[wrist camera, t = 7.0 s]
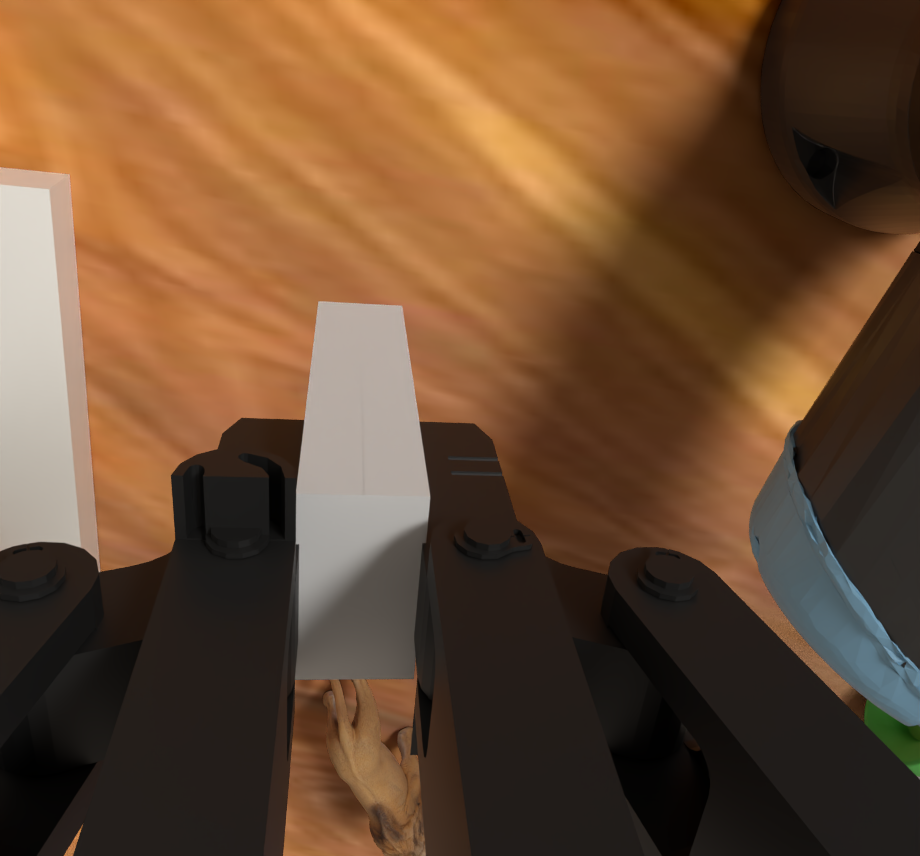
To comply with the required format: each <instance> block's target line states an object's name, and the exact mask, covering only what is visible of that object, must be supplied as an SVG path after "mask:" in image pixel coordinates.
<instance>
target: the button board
mask: <svg viewBox="0 0 920 856" xmlns="http://www.w3.org/2000/svg"><path fill="white" fill-rule="evenodd" d="M35 542H59V543H67V544H70V545H74V546H77V547H80V548H83V549H85V550H86V551H87V552H89V553H90V554H91V555H92V556H93V557H94V558H95V559H96V560H97V565H98V570H99V572H100V561H99V548H98V535H97V522H96V509H95V496H94V483H93V470H92V458H91V445H90V432H89V419H88V406H87V393H86V380H85V367H84V354H83V341H82V328H81V315H80V302H79V289H78V276H77V263H76V250H75V238H74V225H73V212H72V199H71V186H70V174H61V173H51V172H41V171H31V170H21V169H11V168H1V167H0V551H2V550H4V549H7V548H10V547H12V546H17V545H22V544H29V543H35Z"/></svg>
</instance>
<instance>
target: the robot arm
mask: <svg viewBox="0 0 920 856" xmlns="http://www.w3.org/2000/svg"><path fill="white" fill-rule="evenodd" d="M761 111H762V120H763V126H764V131H765V135H766V139H767V142H768V145H769V148H770V151H771V153H772V156H773V158H774V160H775V162H776V164H777V166H778V168H779V170H780V171H781V173H782V174H783V176H784V177H785V179H786V180H787V182H788V183H789V184H790V185H791V187H792V188H793V189H794V190H795V191H796V192H797V193H798V194H799V195H800V196H801V197H802V198H803V199H805V200H806V201H807V202H808V203H810V204H811V205H813V206H814V207H816V208H817V209H819V210H821V211H823V212H824V213H827V214H829V215H831V216H833V217H835V218H837V219H840V220H842V221H844V222H846V223H848V224H851V225H853V226H856V227H859V228H862V229H866V230H870V231H875V232H881V233H889V234H916V233H920V0H782V2H781V4H780V6H779V8H778V11H777V13H776V16H775V19H774V21H773V24H772V27H771V31H770V34H769V37H768V41H767V45H766V50H765V54H764V60H763V66H762V75H761ZM914 251H915V252H914ZM914 251H912V253H911V254H910V256H909V257H908V259H907V260H906V262H905V263H904V265H903V267H902V268H901V270H900V271H899V273H898V274H897V276H896V277H895V279H894V280H893V282H892V283H891V285H890V287H889V288H888V290H887V291H886V293H885V294H884V296H883V297H882V299H881V300H880V302H879V303H878V305H877V307H876V308H875V310H874V311H873V313H872V314H871V316H870V317H869V319H868V320H867V322H866V323H865V325H864V327H863V328H862V330H861V331H860V333H859V334H858V336H857V337H856V339H855V340H854V342H853V344H852V345H851V347H850V348H849V350H848V351H847V353H846V354H845V356H844V357H843V359H842V360H841V362H840V364H839V365H838V367H837V368H836V370H835V371H834V373H833V374H832V376H831V377H830V379H829V380H828V382H827V384H826V385H825V387H824V388H823V390H822V391H821V393H820V394H819V396H818V397H817V399H816V401H815V402H814V404H813V405H812V407H811V408H810V410H809V411H808V413H807V414H806V416H805V417H804V419H803V420H799V421H797V422H796V423H795V424H794V425H793V426H792V428H791V429H790V431H789V432H788V434H787V437H786V439H785V445H784V451H783V452H782V454H781V456H780V458H779V459H778V461H777V463H776V465H775V466H774V468H773V470H772V472H771V473H770V475H769V477H768V479H767V481H766V482H765V484H764V486H763V488H762V489H761V491H760V493H759V495H758V496H757V498H756V500H755V502H754V505H753V508H752V511H751V515H750V521H749V537H750V542H751V546H752V552H753V554H754V557H755V559H756V561H757V562H758V568H759V572H760V574H761V577H762V579H763V581H764V583H765V585H766V587H767V589H768V590H769V592H770V593H771V595H772V597H773V598H774V600H775V602H776V603H777V605H778V606H779V608H780V609H781V611H782V612H783V613H784V615H785V616H786V617H787V619H788V620H789V621H790V623H791V624H792V625H793V627H794V628H795V629H796V630H797V631H798V633H799V634H800V635H801V636H802V637H803V639H804V640H805V641H806V642H807V643H808V644H809V645H810V646H811V647H812V649H813V650H814V651H815V652H816V653H817V654H818V655H819V656H820V657H821V658H822V659H823V660H824V661H825V662H826V663H827V664H828V665H829V666H830V667H831V668H832V669H833V670H834V671H835V672H836V673H837V674H838V675H840V676H841V677H842V678H843V679H844V680H845V681H846V682H847V683H848V684H850V685H851V686H852V687H853V688H854V689H855V690H856V691H858V692H859V693H860V694H861V695H862V696H864V697H865V698H866V699H868V700H869V701H870V702H871V703H873V704H874V705H875V706H877V707H878V708H880V709H881V710H882V711H884V712H885V713H887V714H888V715H890V716H891V717H893V718H894V719H896V720H898V721H899V722H901V723H902V724H904V725H906V726H915V725H918V726H919V727H920V242H919V243H918V245H917V246H916V248H915V249H914ZM171 482H172V496H173V511H174V525H175V542H174V545H173V548H172V551H171V552H170V553H168V554H167V555H164V556H162V557H160V558H157V559H155V560H152V561H150V562H146V563H142V564H138V565H134V566H130V567H125V568H119V569H114V570H108V571H103V572H99V570H98V565H97V560H96V559H95V558H94V557H93V556H92V555H91V554H90V553H89V552H87V551H86V550H85V549H83V548H80V547H77V546H74V545H70V544H67V543H59V542H35V543H29V544H22V545H17V546H12V547H10V548H7V549H4V550H2V551H0V856H64V854H65V852H66V851H67V849H68V847H69V846H70V844H71V843H72V841H73V839H74V838H75V836H76V834H77V833H78V831H79V830H80V828H81V826H82V825H83V827H82V830H81V833H80V836H79V839H78V842H77V845H76V848H75V851H74V854H73V856H283V848H284V836H285V824H286V811H287V799H288V786H289V774H290V762H291V749H292V737H293V724H294V712H295V680H333V679H414V670H415V659H416V666H417V688H416V698H415V709H414V720H413V730H412V741H411V752H410V755H418V762H419V775H420V787H421V800H422V813H423V826H424V838H425V851H426V856H920V779H919V778H918V777H917V776H916V775H915V774H914V773H913V772H912V771H911V770H910V769H909V768H908V767H907V766H906V765H905V764H904V763H903V762H902V761H901V760H900V759H899V758H898V757H897V756H896V755H895V754H894V753H893V752H892V751H891V750H890V749H889V748H888V747H887V746H886V745H885V744H884V743H883V742H882V741H881V740H880V739H879V738H878V737H877V736H876V735H875V734H874V733H873V732H872V731H871V730H870V729H869V728H868V727H867V726H866V725H865V724H864V722H863V721H862V720H861V719H860V718H859V717H858V716H857V715H856V714H855V713H854V712H853V711H852V710H851V709H850V708H849V707H848V706H847V705H846V704H845V703H844V702H843V701H842V700H841V699H840V698H839V697H838V696H837V695H836V694H835V693H834V692H833V691H832V690H831V689H830V688H829V687H828V686H827V685H826V684H825V683H824V682H823V681H822V680H821V679H820V678H819V677H818V676H817V675H816V674H815V673H814V672H813V671H812V670H811V669H810V668H809V667H808V666H807V665H806V664H805V663H804V662H803V661H802V660H801V659H800V658H799V657H798V656H797V655H796V654H795V653H794V652H793V651H792V650H791V649H790V648H789V647H788V646H787V645H786V644H785V643H784V642H783V641H782V640H781V639H780V638H779V637H778V636H777V635H776V634H775V633H774V632H773V631H772V630H771V629H770V628H769V627H768V626H767V625H766V624H765V623H764V622H763V621H762V620H761V619H760V618H759V617H758V616H757V615H756V614H755V613H754V612H753V611H752V610H751V609H750V608H749V607H748V606H747V605H746V603H745V602H744V601H743V600H742V599H741V598H740V597H739V596H738V595H737V594H736V593H735V592H734V591H733V590H732V589H731V588H730V587H729V586H728V585H727V584H726V583H725V582H724V581H723V580H722V579H721V578H720V577H719V576H718V575H717V574H716V573H715V572H713V571H712V570H711V569H709V568H708V567H707V566H705V565H704V564H703V563H701V562H700V561H698V560H696V559H694V558H691V557H689V556H687V555H685V554H682V553H680V552H677V551H674V550H670V549H669V550H667V549H664V548H658V547H644V548H634V549H631V550H627V551H624V552H621V553H620V554H618V555H617V556H616V557H615V558H614V559H613V560H612V561H611V562H610V567H609V571H608V575H606V574H601V573H597V572H592V571H588V570H583V569H578V568H575V567H571V566H568V565H564V564H561V563H558V562H556V561H554V560H552V559H550V558H547V557H545V554H544V551H543V548H542V545H541V543H540V541H539V540H538V538H537V537H536V535H535V534H534V532H533V531H531V530H530V529H528V528H527V527H526V526H524V525H523V524H521V523H520V522H518V521H517V519H516V516H515V513H514V510H513V506H512V503H511V500H510V496H509V493H508V490H507V487H506V483H505V480H504V477H503V476H502V470H501V467H500V464H499V461H498V457H497V454H496V451H495V447H494V444H493V441H492V439H491V438H490V437H489V436H487V435H486V434H485V433H484V432H483V431H482V430H481V429H480V428H479V427H477V426H476V425H475V424H470V423H442V422H419V417H418V410H417V403H416V397H415V390H414V383H413V376H412V370H411V363H410V356H409V350H408V343H407V336H406V329H405V323H404V316H403V309H402V306H394V305H376V304H357V303H339V302H320V301H319V302H318V311H317V319H316V328H315V336H314V345H313V353H312V361H311V370H310V378H309V387H308V395H307V403H306V412H305V420H285V419H256V418H241V419H240V420H238V421H237V422H236V423H235V424H234V425H232V426H231V427H230V428H229V429H227V430H226V431H225V432H224V433H223V434H222V437H221V440H220V443H219V447H218V449H217V450H213V451H209V452H205V453H201V454H197V455H195V456H193V457H192V458H190V459H188V460H186V461H184V462H182V463H181V464H180V465H179V466H178V467H177V468H176V470H175V471H174V472H173V473H172V475H171Z"/></svg>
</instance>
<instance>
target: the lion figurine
mask: <svg viewBox="0 0 920 856" xmlns="http://www.w3.org/2000/svg"><path fill="white" fill-rule="evenodd" d="M351 680H352V682H353V684H354V686H355V689H356V701H357V707H356V713H355V717H354V720H353V722H352V724H351V723H350V722H349V719H348V715H347V709H346V704H345V699H344V695H343V691H342V687H341V684H340V681H339V679H333V680H330V683H331V686H332V690H333V691H328V692H326V693H325V694H324V696H323V704H324V705H325V706H326V707H327V709H328V721H327V733H326V745H327V750H328V754H329V757H330V760H331V762H332V764H333V766H334V768H335V769H336V771H337V773H338V775H339V777H340V778H341V779H342V780H344V781H345V782H346V783H347V784H348V785H349V786H350V788H351V790H352V792H353V793H354V795H355V797H356V798H357V799H358V801H359V802H360V804H361V805H362V806H363V808H364V809H365V811H366V812H367V814H368V817H369V820H370V822H369V825H370V831H371V834H372V837H373V839H374V842H375V843H376V845H377V846H378V847H379V848H380V849H381V850H382V852H383V854H384V855H385V856H426V851H425V838H424V826H423V813H422V800H421V787H420V775H419V763H418V759H417V756H416V755H410V752H411V741H412V730H413V727H406V728H405V729H403V730H401V731H400V732H399V733H398V739H397V743H398V747H399V750H400V752H401V756H402V761H401V764H400V765H399V763H398V762H397V760H396V758H395V757H394V755H393V754H392V753H391V752H390V750H389V749H388V748H387V747H386V746H385V745H384V744H383V743H382V742H381V727H380V721H379V716H378V709H377V705H376V702H375V699H374V696H373V693H372V691H371V689H370V687H369V685H368V683H367V681H366V679H351Z"/></svg>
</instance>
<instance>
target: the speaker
mask: <svg viewBox="0 0 920 856" xmlns="http://www.w3.org/2000/svg"><path fill="white" fill-rule="evenodd" d="M864 723H865V725H866V726H867V727H868V728H869V729H870V730H871V731H872V732H873V733H874V734H875V735H876V736H877V737H878V738H879V739H880V740H881V741H882V742H883V743H884V744H885V745H886V746H887V747H888V748H889V749H890V750H891V751H892V752H893V753H894V754H895V755H896V756H897V757H898V758H899V759H900V760H901V761H902V762H903V763H904V764H905V765H906V766H907V767H908V768H909V769H910V770H911V771H912V772H913V773H914V774H915V775H916V776H917V777H918V778H919V779H920V727H919V726H918V725H915V726H906V725H904V724H902V723H901V722H899V721H898V720H896V719H894V718H893V717H891V716H890V715H888V714H887V713H885V712H884V711H882V710H881V709H880V708H878V707H877V706H875V705H874V704H873V703H871V702H870V701H869V700H868V699H867V701H866V705H865V712H864Z"/></svg>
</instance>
